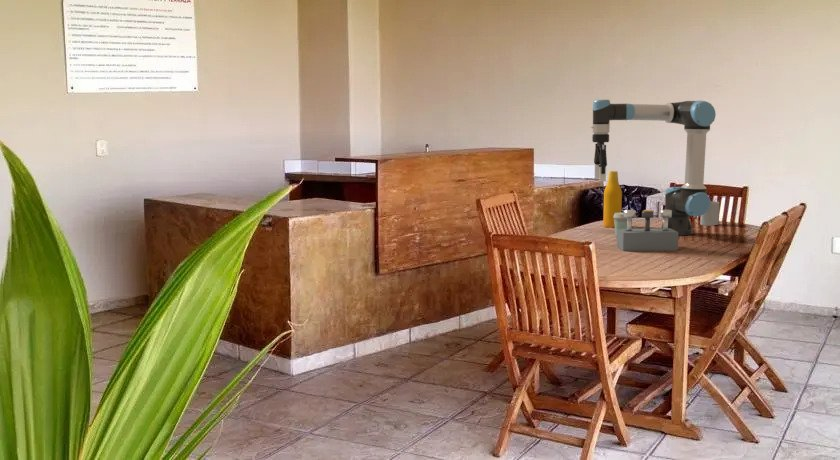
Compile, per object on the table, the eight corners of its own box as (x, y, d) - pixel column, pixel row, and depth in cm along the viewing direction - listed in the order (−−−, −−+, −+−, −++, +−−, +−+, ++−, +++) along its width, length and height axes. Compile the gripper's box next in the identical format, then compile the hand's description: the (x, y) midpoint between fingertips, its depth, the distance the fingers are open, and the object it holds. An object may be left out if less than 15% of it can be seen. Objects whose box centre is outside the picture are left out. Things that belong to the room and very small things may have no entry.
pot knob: (651, 235, 389) (652, 209, 387) (654, 236, 384) (655, 211, 383) (640, 235, 389) (640, 209, 387) (643, 237, 384) (643, 211, 383)
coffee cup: (631, 239, 412) (632, 214, 410) (613, 239, 414) (613, 214, 412) (630, 236, 420) (631, 212, 419) (612, 236, 422) (613, 212, 420)
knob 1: (633, 235, 389) (634, 209, 387) (636, 237, 384) (636, 211, 382) (622, 235, 389) (622, 210, 387) (624, 237, 384) (625, 211, 382)
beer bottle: (599, 226, 458) (600, 171, 454) (614, 224, 462) (615, 170, 458) (610, 228, 450) (611, 172, 446) (624, 227, 453) (626, 171, 449)
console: (669, 245, 393) (670, 228, 392) (677, 250, 382) (678, 232, 380) (616, 246, 393) (617, 228, 392) (623, 250, 381) (623, 232, 380)
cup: (720, 225, 454) (721, 203, 453) (703, 226, 454) (704, 203, 453) (715, 223, 463) (716, 201, 462) (698, 223, 463) (698, 201, 462)
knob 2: (669, 235, 389) (669, 209, 388) (672, 236, 384) (673, 210, 383) (658, 235, 389) (658, 209, 387) (661, 236, 384) (661, 211, 383)
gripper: (588, 132, 411) (587, 177, 414) (597, 134, 386) (596, 182, 389) (604, 132, 411) (603, 177, 414) (614, 134, 386) (613, 182, 389)
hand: (600, 179), depth 402 cm, fingers open, 13 cm apart
